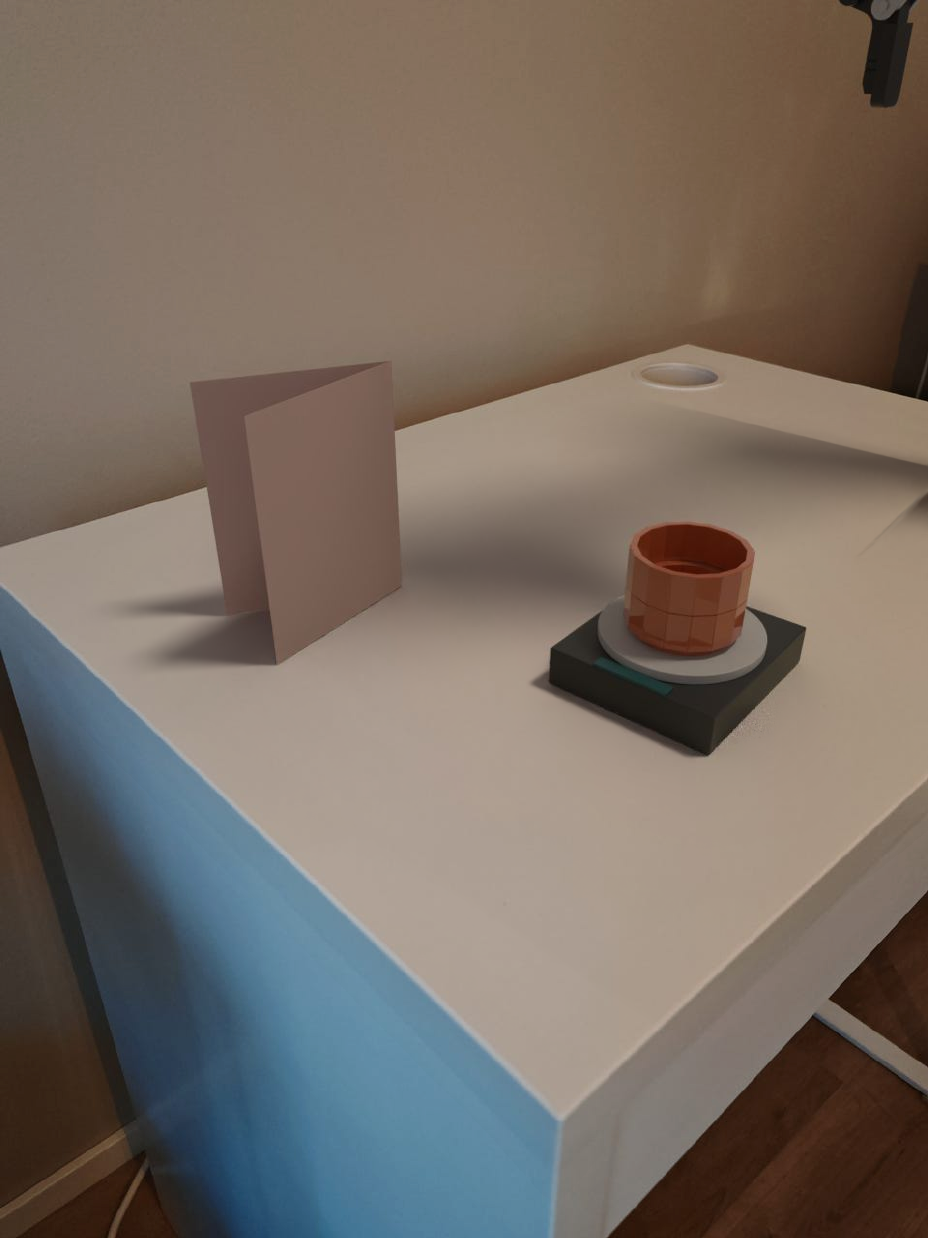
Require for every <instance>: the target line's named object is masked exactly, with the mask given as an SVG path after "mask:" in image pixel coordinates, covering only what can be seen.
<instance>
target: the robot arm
mask: <svg viewBox="0 0 928 1238" xmlns="http://www.w3.org/2000/svg"><path fill="white" fill-rule="evenodd" d="M838 2H839V3H840V4H841V5H842V6H844V7H851V8H852V9H855V10H857V11H860V12H862V13H864V14H866V15H867V16H868V17H869V19H870V22H871V32H870V36H869V37H870V38H869V43H868V48H867V53H866V61H865V66H864V72H863V77H862V89H863V94H864V95H870V98H869V106H870V108H875V109H876V108H877V109H887V108H892V107H896V105H897V103H898V101H899V98H900V93H901V88H902V83H903V78H904V73H905V68H906V62H907V58H908V53H909V48H910V42H911V37H912V32H913V27H914V22H908V20H909V15H910V13H911V12H912V11H913V10H914V9H915V7H916V6H917V5H918V4H919V3H920V2H921V0H838Z"/></svg>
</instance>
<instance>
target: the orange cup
mask: <svg viewBox="0 0 928 1238" xmlns="http://www.w3.org/2000/svg"><path fill="white" fill-rule="evenodd" d="M628 547H629V548H628V558H627V569H626V580H625V590H624V594H625V601H624V611H623V617H624V620H625V622H626V624H627V627H628V629H629V630H630V631H631V632H632V633H634V634H635V635H636V636H637V638H639V639H640V640H641V641H642V642H643V643H645V644H647V645H648V646H650V647H652V648H655V649H657V650H660V651H663V652H666V653H671V654H676V655H687V656H696V655H705V654H710V653H713V652H716V651H719V650H721V649H722V648H724V647H726V646H729V645H731V644H732V643H733V642H734V641H735V640H736V639H737V638H738V637H739V636H741V634H742V628H743V622H744V616H745V611H746V606H748V605H747V604H748V598H749V593H750V587H751V580H752V574H753V569H754V563H755V556H756V551H755V549H754V547H753V546H752V545H751V544H750V542H749V541H748V540H747V539H746V538H744V537H743V536H741V535H740V534H738V533H736V532H735V531H733V530H731V529H727V528H724V527H720V526H717V525H714V524H710V523H704V522H694V521H689V520H688V521H685V520H683V521H665V522H660V523H656V524H652V525H649V526H646V527H644V528H642V529H640V530H639V531H637V532H636V533H635V534H633V535H632V538H631V541H630V543H629V546H628Z"/></svg>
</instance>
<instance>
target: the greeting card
mask: <svg viewBox="0 0 928 1238" xmlns="http://www.w3.org/2000/svg"><path fill="white" fill-rule="evenodd" d="M392 367H393V366H392V360H386V361H385V360H384V361H375V362H365V363H357V364H347V365H337V366H329V367H320V368H318V367H317V368H309V369H301V370H300V369H299V370H291V371H283V372H272V373H264V374H263V373H262V374H253V375H245V376H236V377H226V378H217V379H207V380H197V381H189V387H190V392H191V399H192V405H193V412H194V417H195V424H196V430H197V437H198V444H199V449H200V454H201V460H202V467H203V473H204V479H205V480H204V481H205V486H206V492H207V497H208V505H209V510H210V517H211V524H212V528H213V535H214V542H215V547H216V553H217V560H218V566H219V573H220V578H221V585H222V591H223V597H224V604H225V610H226V616H227V617H228V616H233V615H238V614H245V613H250V612H256V611H262V610H268V609H269V616H270V623H271V630H272V631H271V632H272V639H273V646H274V655H275V661H276V665H280V664H281V663H283V662H284V661H286V660H287V659H289V658H290V657H292V656H293V655H295V654H296V653H298V652H300V651H301V650H303V649H304V648H306V647H308V646H309V645H311V644H313V643H314V642H316V641H317V640H319V639H320V638H322V637H324V636H325V635H326V634H328V633H330V632H332V631H333V630H335V629H336V628H338V627H339V626H341V625H342V624H344V623H346V622H347V621H349V620H350V619H352V618H353V617H355V616H356V615H358V614H360V613H361V612H363V611H364V610H366V609H368V608H369V607H371V606H372V605H374V604H375V603H377V602H379V601H381V600H382V599H383V598H385V597H387V596H388V595H390V594H391V593H393V592H394V591H396V590H398V589H399V588H400V587H402V586H403V575H402V574H403V573H402V553H401V551H402V550H401V532H400V531H401V529H400V513H399V511H400V509H399V491H398V489H399V488H398V471H397V470H398V469H397V450H396V449H397V448H396V447H397V446H396V430H395V429H396V427H395V409H394V385H393V371H392V370H393V369H392Z"/></svg>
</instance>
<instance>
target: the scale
mask: <svg viewBox="0 0 928 1238" xmlns="http://www.w3.org/2000/svg"><path fill="white" fill-rule="evenodd" d="M624 601H625V593H624V594H623V595H621V596H618V597H617V598H615V599H613V600H612V601H610V602H609V603H608V604H607V605H606V606H605V607H604V608H603V609H602V610H601V611H599V612H598V613H596V614H595V615H594V616H593V617H591V618H590V619H588V620H586V621H585V622H584V623H583V624H581V625H580V626H579V627H577V628H576V629H575V630H573V631H572V632H570V633H569V634H568V635H566V636H565V637H563V638H562V639H561V640H559V641H557V643H555V644H554V645H553V646H551V647H550V649H549V651H550V652H549V654H550V655H549V671H548V672H549V673H548V683H549V684H551V685H553V686H555V687H558V688H559V689H562V690H564V691H566V692H569V693H571V694H573V695H574V696H577V697H580V698H582V699H584V700H586V701H588V702H590V703H593V704H595V705H597V706H600V707H601V708H604V709H606V710H608V711H610V712H612V713H614V714H617V715H618V716H621V717H623V718H626V719H628V720H630V721H632V722H634V723H637V724H639V725H641V726H643V727H645V728H647V729H649V730H651V731H653V732H656V733H659V734H660V735H663V736H665V737H667V738H669V739H672V740H673V741H675V742H678V743H680V744H682V745H684V746H687V747H689V748H692V749H694V750H696V751H697V752H700V753H703V754H704V755H707V756H710V755H711V754H712V753H713V752H714V751H715V750H716V749H717V747H718V746H719V745H720V744H721V743H722V742H723V741H724V740H725V739H726V738H727V737H728V736H729V735H730V734H731V733H732V732H733V731H734V730H735V729H736V728H737V727H738V726H739V725H740V724H741V723H742V722H743V721H744V719H745V718H746V717H748V715H749V714H750V713H751V712H753V710H754V709H755V708H756V707H757V706H758V705H759V704H760V703H761V702H762V701H763V700H764V699H765V698H766V697H767V696H768V695H769V694H770V692H772V691H773V689H775V687H777V685H779V683H781V681H782V680H783V679H784V678H785V677H786V676H787V675H788V674H789V673H790V672H791V671H792V670H793V669H794V668H795V667H796V666H797V665H798V664H799V663H800V661H801V656H802V652H803V647H804V641H805V637H806V632H807V627H806V626H804V625H801V624H799V623H795V622H792V621H790V620H787V619H784V618H782V617H779V616H776V615H773V614H770V613H767V612H765V611H762V610H758V609H756V608H753V607H750V606H748V605H746V611H745V616H744V622H743V628H742V634H741V636H739V637H738V638H737V639H736V640H735V641H734V642H733V643H732V644H731V645H729V646H726V647H724V648H722V649H721V650H719V651H716V652H713V653H710V654H705V655H696V656H687V655H676V654H671V653H666V652H663V651H660V650H657V649H655V648H652V647H650V646H648V645H647V644H645V643H643V642H642V641H641V640H640V639H639V638H637V636H636V635H635V634H634V633H632V632H631V631H630V630H629V629H628V627H627V624H626V622H625V620H624V617H623V611H624Z"/></svg>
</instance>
